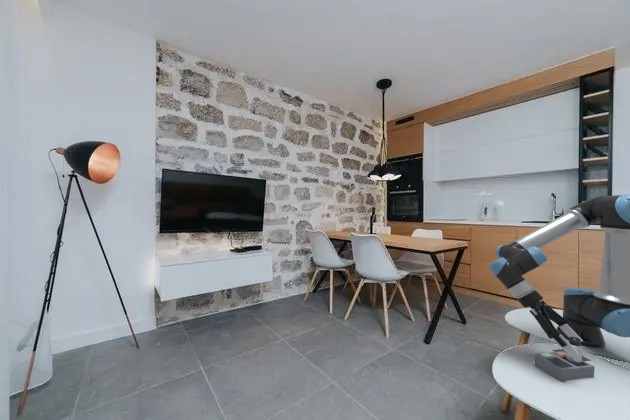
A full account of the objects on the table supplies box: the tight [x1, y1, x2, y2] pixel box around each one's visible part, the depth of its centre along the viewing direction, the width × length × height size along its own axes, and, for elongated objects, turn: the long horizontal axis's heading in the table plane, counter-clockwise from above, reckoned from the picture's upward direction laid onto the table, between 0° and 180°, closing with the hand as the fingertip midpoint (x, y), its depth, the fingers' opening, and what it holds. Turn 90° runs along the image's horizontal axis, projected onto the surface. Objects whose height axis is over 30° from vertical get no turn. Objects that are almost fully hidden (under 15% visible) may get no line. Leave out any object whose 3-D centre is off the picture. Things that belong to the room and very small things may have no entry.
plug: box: [566, 337, 584, 366], centre depth 91 cm, size 4×4×12 cm
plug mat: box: [551, 348, 592, 362], centre depth 100 cm, size 8×8×1 cm
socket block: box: [533, 351, 595, 382], centre depth 91 cm, size 14×9×4 cm, turn 101°
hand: (577, 348), depth 90 cm, fingers open, 13 cm apart
